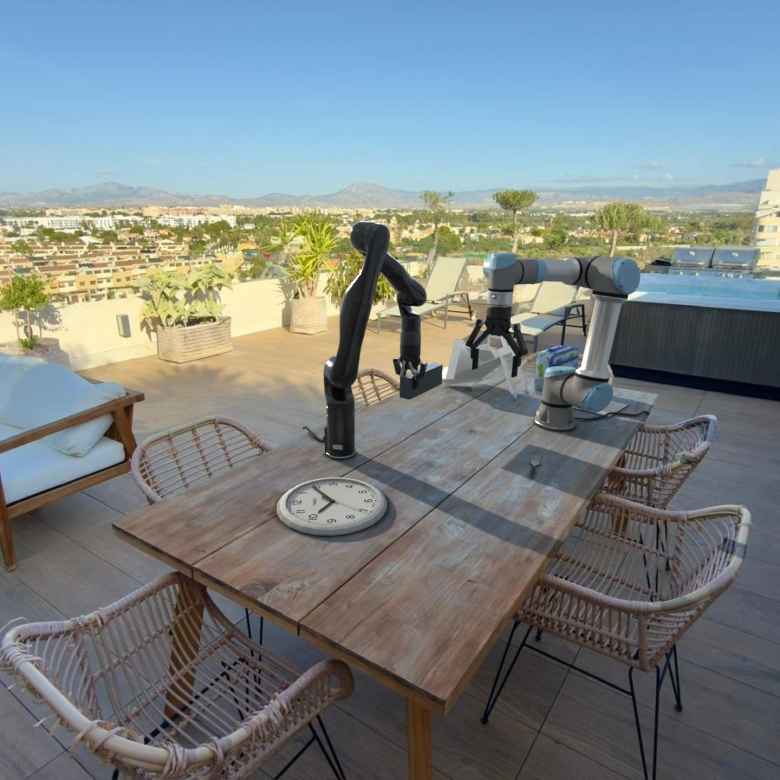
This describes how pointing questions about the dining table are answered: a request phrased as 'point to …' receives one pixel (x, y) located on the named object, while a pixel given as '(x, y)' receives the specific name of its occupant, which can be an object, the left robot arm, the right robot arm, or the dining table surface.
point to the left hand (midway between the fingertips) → (409, 387)
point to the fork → (534, 465)
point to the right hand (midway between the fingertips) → (494, 372)
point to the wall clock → (331, 506)
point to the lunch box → (554, 362)
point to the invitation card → (611, 408)
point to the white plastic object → (480, 365)
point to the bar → (421, 381)
